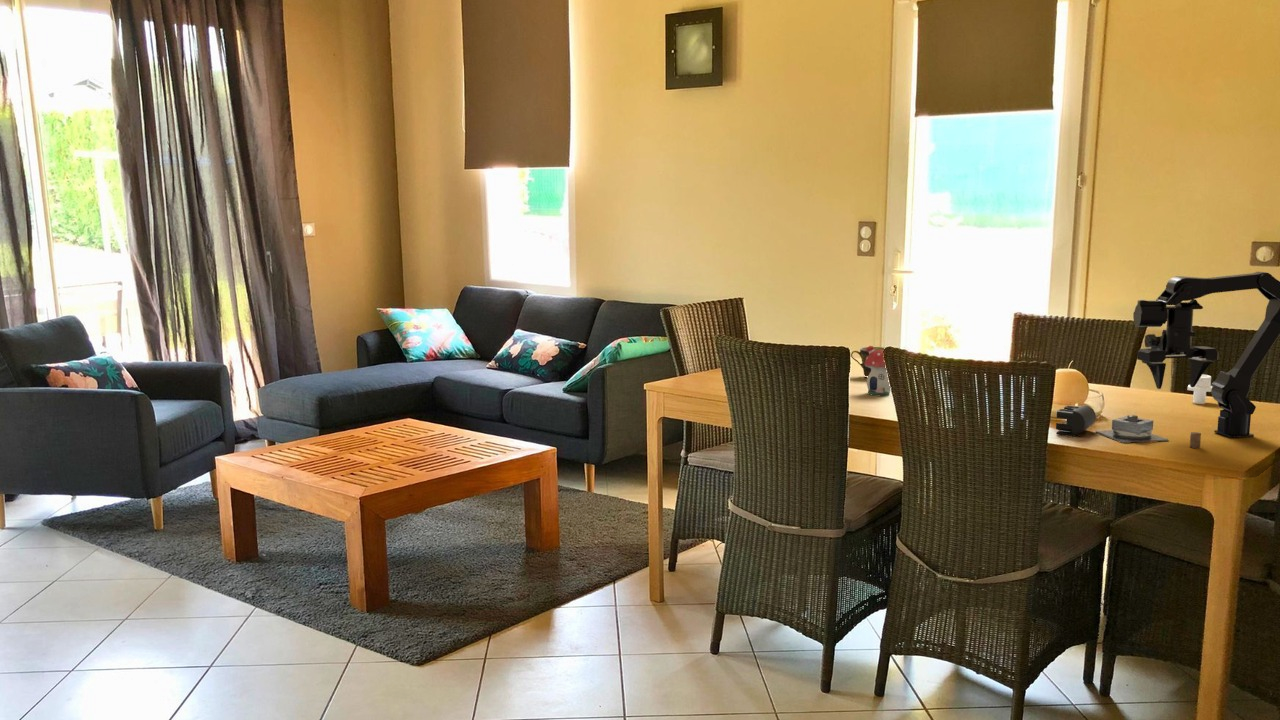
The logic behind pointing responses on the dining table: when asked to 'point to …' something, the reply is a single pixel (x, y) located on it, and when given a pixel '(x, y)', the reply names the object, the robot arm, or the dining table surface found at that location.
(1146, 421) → the grey square base
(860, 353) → the ceramic cup
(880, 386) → the decorative ornament
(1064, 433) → the end cap
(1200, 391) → the pipe fitting
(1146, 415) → the dining table surface
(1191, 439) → the stand post
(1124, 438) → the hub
